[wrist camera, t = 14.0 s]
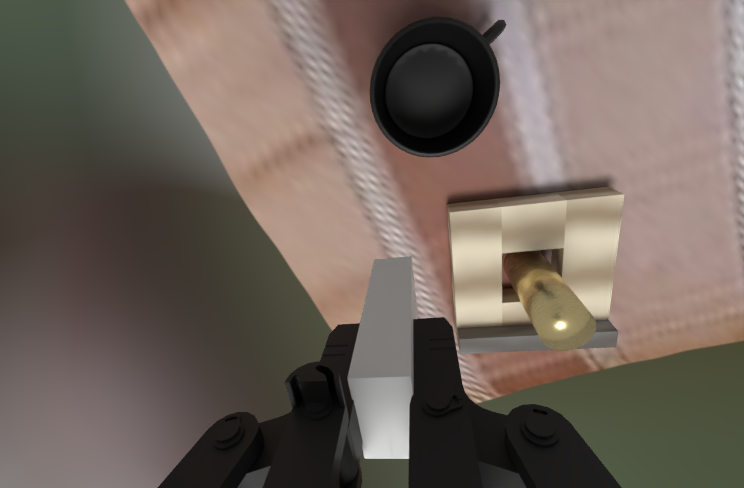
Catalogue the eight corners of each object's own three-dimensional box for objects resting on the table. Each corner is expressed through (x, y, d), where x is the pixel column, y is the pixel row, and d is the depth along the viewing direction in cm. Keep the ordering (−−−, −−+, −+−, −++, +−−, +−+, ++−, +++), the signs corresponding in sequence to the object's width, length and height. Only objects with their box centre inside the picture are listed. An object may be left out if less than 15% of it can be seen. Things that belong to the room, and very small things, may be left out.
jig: (446, 204, 38) (451, 218, 33) (607, 186, 35) (636, 200, 31) (455, 326, 44) (460, 354, 39) (593, 319, 41) (615, 347, 37)
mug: (522, 74, 32) (560, 67, 24) (422, 163, 36) (425, 182, 28) (458, -13, 30) (475, -54, 22) (359, 91, 34) (343, 89, 26)
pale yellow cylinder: (503, 248, 39) (539, 307, 28) (545, 244, 38) (598, 304, 27) (503, 282, 41) (537, 351, 30) (543, 279, 40) (593, 349, 29)
